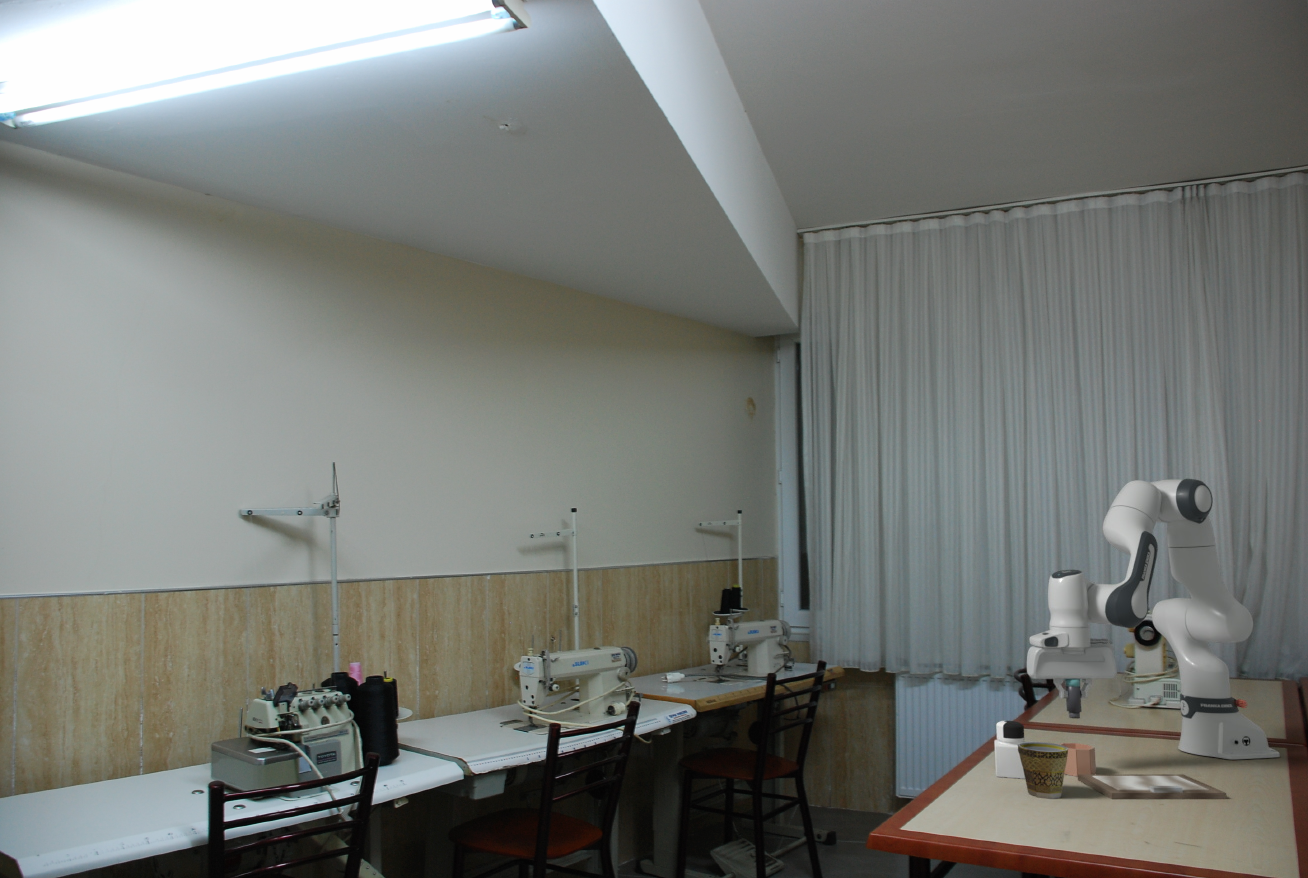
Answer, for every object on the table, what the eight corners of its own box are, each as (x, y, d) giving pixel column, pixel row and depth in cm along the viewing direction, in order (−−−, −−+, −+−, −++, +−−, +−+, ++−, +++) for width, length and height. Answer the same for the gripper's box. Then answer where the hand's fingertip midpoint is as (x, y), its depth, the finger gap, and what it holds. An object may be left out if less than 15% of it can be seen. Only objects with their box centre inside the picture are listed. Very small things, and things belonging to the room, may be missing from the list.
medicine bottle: (1027, 772, 218) (1025, 720, 219) (1029, 779, 211) (1026, 725, 212) (995, 770, 220) (993, 718, 221) (996, 777, 213) (993, 723, 215)
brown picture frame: (1183, 779, 210) (1183, 769, 210) (1226, 798, 194) (1225, 787, 195) (1077, 779, 210) (1077, 769, 211) (1111, 798, 194) (1111, 788, 195)
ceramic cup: (1081, 798, 195) (1078, 749, 196) (1041, 802, 192) (1038, 752, 193) (1039, 783, 207) (1037, 737, 208) (1001, 787, 204) (999, 740, 205)
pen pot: (1085, 768, 221) (1084, 742, 222) (1100, 776, 214) (1099, 749, 214) (1054, 768, 221) (1053, 742, 222) (1068, 776, 214) (1066, 749, 214)
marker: (1078, 716, 220) (1076, 677, 221) (1084, 718, 217) (1082, 679, 218) (1064, 716, 220) (1062, 677, 221) (1070, 718, 217) (1068, 679, 218)
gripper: (1107, 637, 224) (1110, 695, 222) (1022, 637, 224) (1025, 695, 223) (1120, 639, 218) (1123, 700, 216) (1033, 640, 218) (1036, 700, 216)
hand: (1073, 698), depth 219 cm, fingers closed on marker, 3 cm apart
